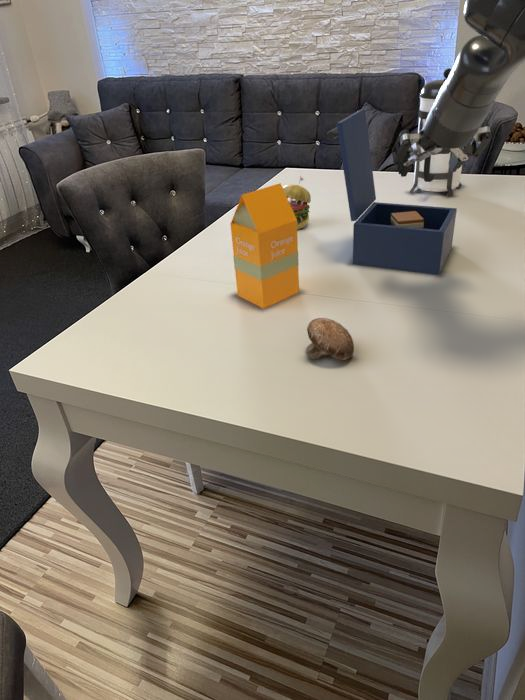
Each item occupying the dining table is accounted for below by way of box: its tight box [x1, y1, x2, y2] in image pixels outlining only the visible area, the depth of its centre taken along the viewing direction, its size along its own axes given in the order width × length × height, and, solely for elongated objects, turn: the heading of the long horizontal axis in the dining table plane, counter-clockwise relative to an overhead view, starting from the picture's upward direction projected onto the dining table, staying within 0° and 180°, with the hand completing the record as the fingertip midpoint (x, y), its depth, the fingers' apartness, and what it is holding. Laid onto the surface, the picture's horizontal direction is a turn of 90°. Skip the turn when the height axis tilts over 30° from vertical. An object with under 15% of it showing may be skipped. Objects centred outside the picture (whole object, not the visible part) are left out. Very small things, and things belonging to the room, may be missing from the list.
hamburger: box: [282, 175, 312, 231], centre depth 126 cm, size 8×7×12 cm
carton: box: [391, 211, 424, 228], centre depth 107 cm, size 5×5×8 cm
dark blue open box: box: [352, 201, 457, 276], centre depth 108 cm, size 17×14×9 cm
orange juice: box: [230, 183, 300, 309], centre depth 94 cm, size 8×9×20 cm
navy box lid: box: [326, 108, 377, 222], centre depth 105 cm, size 18×14×5 cm
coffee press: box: [409, 68, 463, 198], centre depth 137 cm, size 17×16×30 cm
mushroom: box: [306, 317, 355, 361], centre depth 80 cm, size 8×8×6 cm
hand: (426, 169), depth 92 cm, fingers open, 8 cm apart
